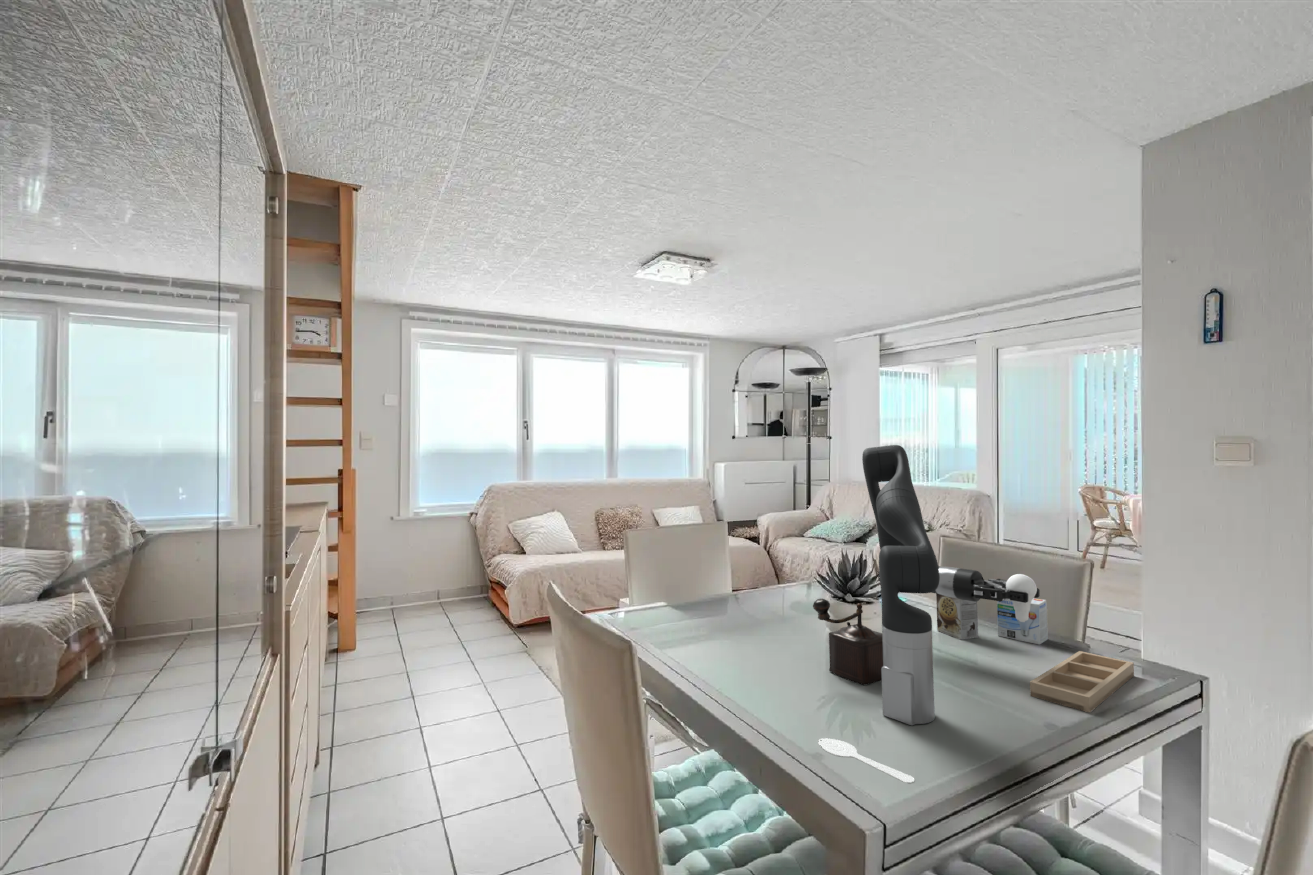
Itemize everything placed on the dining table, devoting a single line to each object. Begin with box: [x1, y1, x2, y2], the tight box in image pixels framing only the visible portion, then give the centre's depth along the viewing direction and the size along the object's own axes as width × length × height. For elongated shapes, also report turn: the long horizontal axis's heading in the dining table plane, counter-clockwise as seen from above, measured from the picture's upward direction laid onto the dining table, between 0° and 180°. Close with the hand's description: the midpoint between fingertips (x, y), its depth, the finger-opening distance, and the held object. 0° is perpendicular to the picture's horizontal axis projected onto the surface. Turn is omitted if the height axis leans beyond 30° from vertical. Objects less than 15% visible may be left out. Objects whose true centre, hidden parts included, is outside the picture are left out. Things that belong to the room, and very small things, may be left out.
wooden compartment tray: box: [1029, 650, 1135, 713], centre depth 130 cm, size 30×10×3 cm, turn 128°
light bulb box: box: [996, 598, 1049, 645], centre depth 163 cm, size 11×7×11 cm, turn 42°
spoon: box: [817, 737, 915, 784], centre depth 101 cm, size 5×18×1 cm, turn 37°
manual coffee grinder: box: [812, 598, 883, 686], centre depth 138 cm, size 16×11×18 cm
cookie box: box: [935, 593, 979, 641], centre depth 168 cm, size 9×6×16 cm
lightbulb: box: [1006, 573, 1038, 622], centre depth 137 cm, size 6×6×11 cm
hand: (1033, 595), depth 135 cm, fingers closed on lightbulb, 6 cm apart
